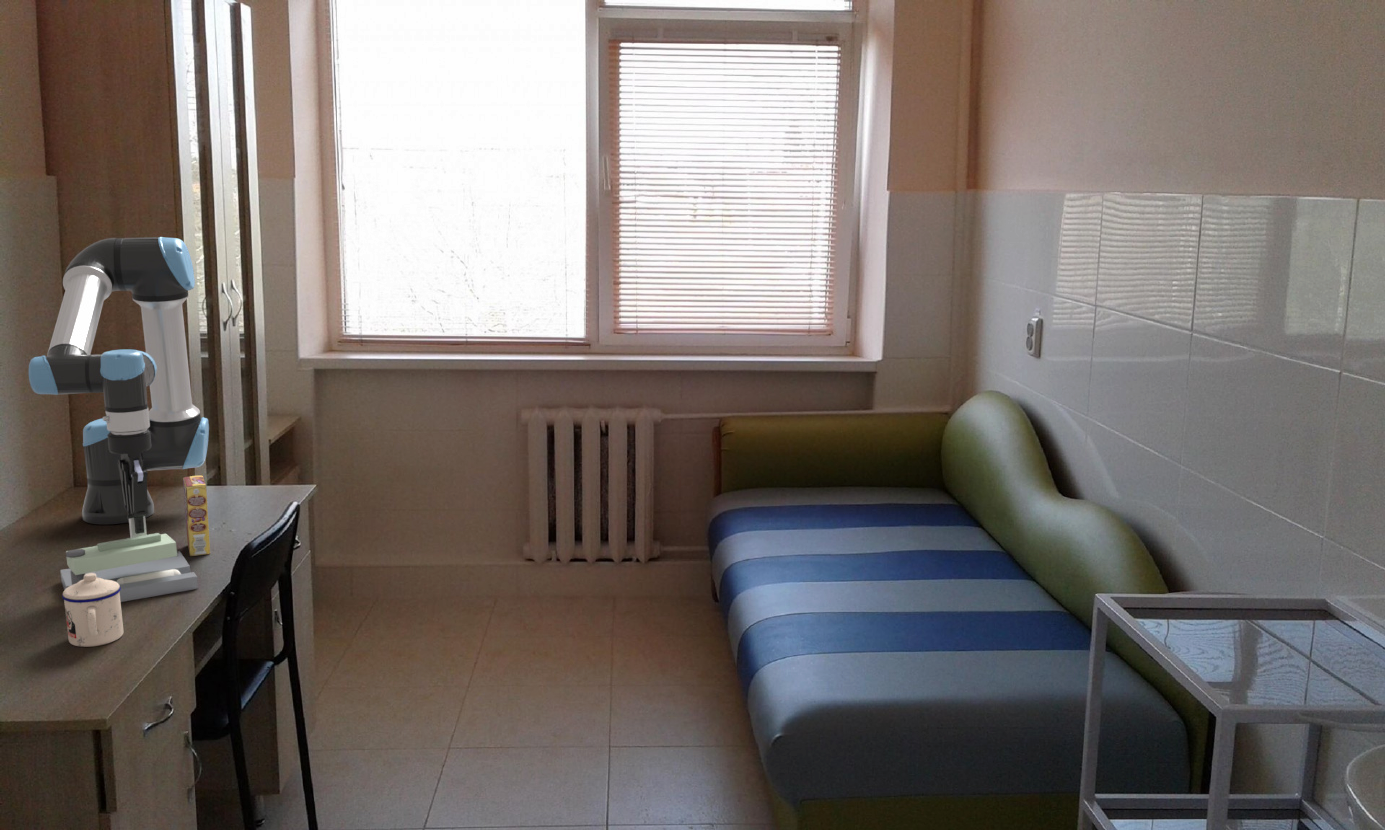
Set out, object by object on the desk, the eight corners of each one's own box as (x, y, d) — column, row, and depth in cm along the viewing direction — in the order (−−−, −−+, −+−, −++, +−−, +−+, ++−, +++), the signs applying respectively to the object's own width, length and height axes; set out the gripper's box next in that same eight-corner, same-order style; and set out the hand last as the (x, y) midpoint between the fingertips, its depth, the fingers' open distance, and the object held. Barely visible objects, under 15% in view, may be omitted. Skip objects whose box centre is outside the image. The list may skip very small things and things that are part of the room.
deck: (61, 581, 237) (58, 553, 236) (180, 562, 248) (178, 535, 247) (71, 610, 222) (68, 580, 221) (197, 588, 233) (195, 559, 232)
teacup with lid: (68, 632, 212) (61, 569, 209) (125, 624, 215) (119, 562, 213) (64, 658, 201) (57, 592, 199) (124, 649, 205) (118, 584, 202)
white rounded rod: (113, 583, 231) (114, 576, 229) (179, 572, 238) (180, 565, 236) (116, 595, 230) (116, 588, 228) (182, 584, 236) (182, 577, 234)
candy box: (212, 554, 254) (206, 484, 251) (190, 557, 252) (184, 486, 249) (208, 542, 262) (203, 474, 258) (187, 544, 260) (181, 476, 257)
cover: (72, 575, 222) (69, 555, 221) (63, 565, 228) (61, 545, 227) (177, 556, 233) (175, 536, 233) (167, 546, 239) (165, 527, 238)
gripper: (99, 427, 234) (111, 542, 239) (115, 439, 224) (127, 559, 229) (140, 422, 239) (151, 535, 244) (158, 434, 229) (168, 552, 233)
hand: (139, 547), depth 236 cm, fingers closed
